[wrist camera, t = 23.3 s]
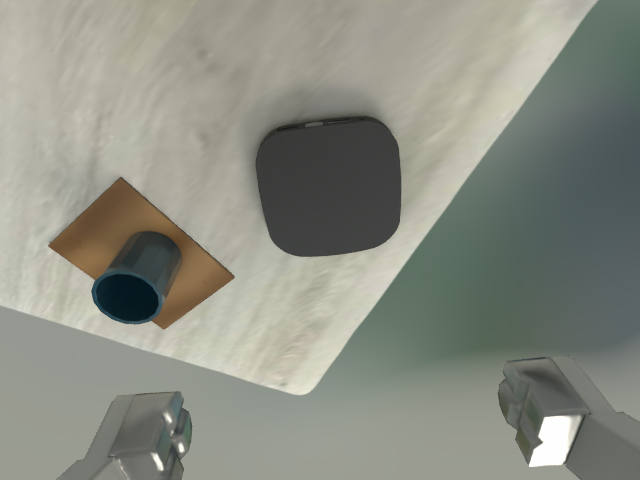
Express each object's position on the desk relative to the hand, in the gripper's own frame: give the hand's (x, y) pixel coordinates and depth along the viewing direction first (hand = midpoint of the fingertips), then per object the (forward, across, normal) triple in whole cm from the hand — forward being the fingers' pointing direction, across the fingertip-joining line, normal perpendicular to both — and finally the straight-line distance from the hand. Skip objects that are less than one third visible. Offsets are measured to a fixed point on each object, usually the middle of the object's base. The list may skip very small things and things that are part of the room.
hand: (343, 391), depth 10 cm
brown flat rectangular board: (+34, +22, +16) cm, 43 cm away
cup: (+34, +20, +15) cm, 42 cm away
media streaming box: (+34, -1, +9) cm, 35 cm away
